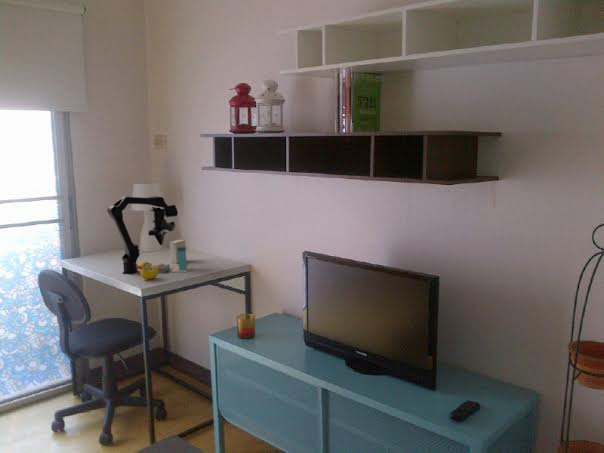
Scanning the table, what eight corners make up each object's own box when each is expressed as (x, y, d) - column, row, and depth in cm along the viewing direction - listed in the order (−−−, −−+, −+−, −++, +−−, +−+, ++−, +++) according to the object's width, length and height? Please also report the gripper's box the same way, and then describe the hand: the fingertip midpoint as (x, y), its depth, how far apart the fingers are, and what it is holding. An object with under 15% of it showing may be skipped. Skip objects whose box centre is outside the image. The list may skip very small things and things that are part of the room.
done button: (154, 270, 309) (154, 265, 309) (158, 268, 314) (157, 263, 313) (162, 271, 309) (161, 265, 308) (165, 269, 313) (165, 263, 312)
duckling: (139, 282, 289) (137, 263, 287) (135, 280, 293) (134, 261, 292) (160, 278, 295) (158, 260, 293) (156, 276, 299) (155, 258, 298)
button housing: (150, 272, 308) (150, 267, 308) (156, 269, 316) (156, 264, 315) (163, 273, 307) (163, 267, 306) (169, 269, 314) (169, 264, 314)
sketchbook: (167, 271, 309) (166, 271, 309) (174, 267, 319) (174, 266, 319) (185, 272, 307) (185, 271, 307) (192, 267, 317) (192, 267, 317)
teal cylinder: (178, 270, 311) (177, 247, 308) (179, 268, 315) (178, 246, 312) (186, 270, 311) (185, 247, 309) (187, 268, 315) (185, 245, 313)
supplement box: (181, 260, 337) (180, 239, 335) (186, 261, 334) (185, 240, 332) (170, 263, 330) (169, 241, 328) (176, 264, 327) (175, 242, 325)
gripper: (165, 220, 306) (167, 248, 309) (179, 215, 324) (180, 241, 327) (146, 220, 308) (148, 248, 311) (161, 215, 326) (162, 241, 329)
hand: (161, 244), depth 319 cm, fingers closed
